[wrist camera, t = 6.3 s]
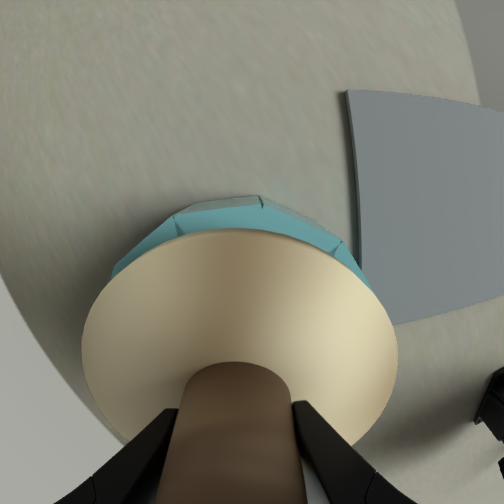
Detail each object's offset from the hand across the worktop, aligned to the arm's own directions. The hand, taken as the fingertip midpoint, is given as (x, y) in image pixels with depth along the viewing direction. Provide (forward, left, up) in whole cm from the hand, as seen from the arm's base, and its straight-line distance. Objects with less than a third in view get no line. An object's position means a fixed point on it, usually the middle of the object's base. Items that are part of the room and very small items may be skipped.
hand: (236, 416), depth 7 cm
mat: (-12, -4, -7) cm, 14 cm away
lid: (0, 0, -2) cm, 2 cm away
